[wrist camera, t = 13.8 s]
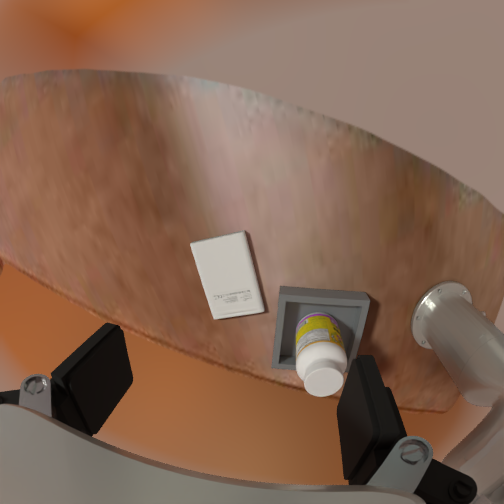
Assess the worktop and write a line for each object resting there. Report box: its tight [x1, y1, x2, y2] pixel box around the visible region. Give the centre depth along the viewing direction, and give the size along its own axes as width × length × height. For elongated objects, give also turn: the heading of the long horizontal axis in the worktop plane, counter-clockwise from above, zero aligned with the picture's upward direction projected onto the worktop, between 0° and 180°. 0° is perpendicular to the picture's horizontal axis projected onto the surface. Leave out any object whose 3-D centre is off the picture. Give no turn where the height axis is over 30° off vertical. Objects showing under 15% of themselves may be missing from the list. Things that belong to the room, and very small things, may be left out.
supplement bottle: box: [296, 312, 347, 397], centre depth 36 cm, size 7×7×13 cm
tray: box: [272, 286, 370, 372], centre depth 41 cm, size 13×13×3 cm
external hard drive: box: [190, 230, 265, 319], centre depth 42 cm, size 2×8×12 cm
